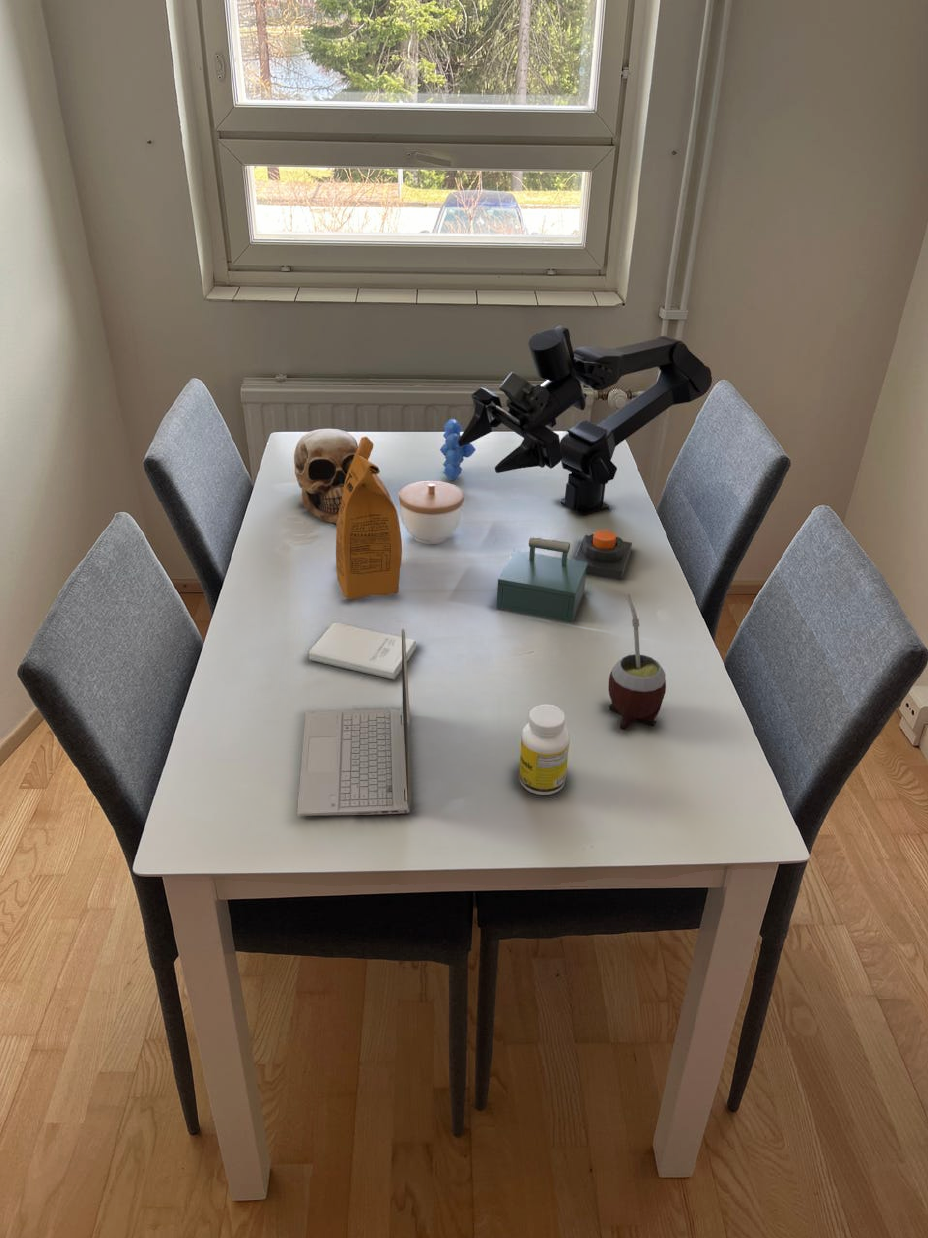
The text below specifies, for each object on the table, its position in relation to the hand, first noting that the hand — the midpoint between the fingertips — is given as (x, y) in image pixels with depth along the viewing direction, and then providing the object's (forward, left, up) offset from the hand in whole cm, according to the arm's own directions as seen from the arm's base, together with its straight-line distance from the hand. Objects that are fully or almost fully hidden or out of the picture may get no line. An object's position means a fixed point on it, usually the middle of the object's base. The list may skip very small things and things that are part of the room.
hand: (476, 457), depth 150 cm
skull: (+13, -25, -15) cm, 32 cm away
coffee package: (+21, +3, -15) cm, 26 cm away
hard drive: (+31, +20, -15) cm, 40 cm away
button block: (-14, +16, -15) cm, 26 cm away
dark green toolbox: (+1, +21, -15) cm, 26 cm away
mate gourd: (+8, +49, -15) cm, 52 cm away
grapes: (-11, -22, -15) cm, 29 cm away
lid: (+1, +21, -11) cm, 23 cm away
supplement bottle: (+25, +53, -15) cm, 60 cm away
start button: (-14, +16, -12) cm, 25 cm away
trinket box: (+5, -5, -15) cm, 17 cm away
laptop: (+42, +39, -15) cm, 59 cm away
